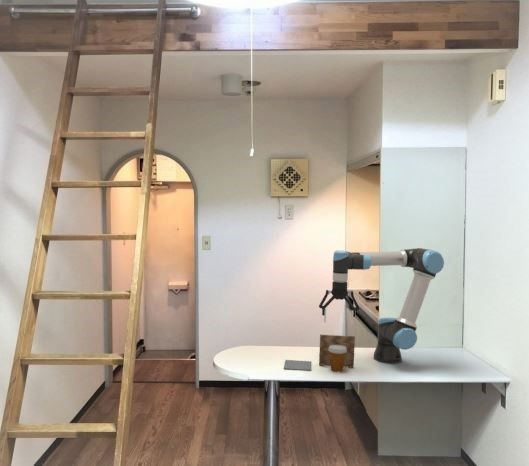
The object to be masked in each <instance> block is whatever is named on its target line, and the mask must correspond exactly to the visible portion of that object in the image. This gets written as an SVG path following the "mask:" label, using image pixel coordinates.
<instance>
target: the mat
mask: <svg viewBox="0 0 529 466" xmlns="http://www.w3.org/2000/svg"><path fill="white" fill-rule="evenodd" d="M283 370H290V371H303V372H312V361H311V360H310V361H309V360H296V359H295V360H293V359H285V360H284V365H283Z"/></svg>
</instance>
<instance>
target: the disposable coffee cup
mask: <svg viewBox="0 0 529 466" xmlns="http://www.w3.org/2000/svg"><path fill="white" fill-rule="evenodd" d="M328 350H329V355H330V366H329V367H330V371H331V372H334V373H341V372H343V371H344V362H345V356H346V352H347V349H346V347H345V346H342V345H330V346H329V348H328Z"/></svg>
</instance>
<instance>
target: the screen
mask: <svg viewBox="0 0 529 466" xmlns="http://www.w3.org/2000/svg"><path fill="white" fill-rule="evenodd" d="M355 342H356V336H354V335H353V336H352V335H338V334H334V335H322V334H320V335H319V353H318V354H319V355H318V356H319V358H318V365H319V367H323V366H324V367H325V366H327V367H328V366H329V367H331V366H330V355H329V350H328V348H329V346H330V345H342V346H345V347H346V349H347V352H346V356H345V362H344V367H345V368H348V369H354V367H355V366H354V365H355Z"/></svg>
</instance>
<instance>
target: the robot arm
mask: <svg viewBox="0 0 529 466" xmlns="http://www.w3.org/2000/svg"><path fill="white" fill-rule="evenodd" d="M332 260H333V261H332V281H331V282H332V283H331V284H332V286H331V288H332V289H331V290H329V289H326V290H325V294H324V296H323V298H322V300H321V302H320V303H319V305H318V307H319V308H320V309H321V310H322V312H321V315H322V316H324V317H323V319H324V321H323V323H327V322H326V321H327V307H328V306H329V305H330V304H331V303H332V302H333V301H334V300H340V301H341V300H342V301H343V300H344V301H345V302H346V303H347V304H348V306H349V307H350V308H351V315H350V323H351V324H350V325H354V318H356V312H357V311H359V310H360V306H359V304H358V302H357V301H356V298H355V296H354V291H353V290H350V291H348V278H349V277H348V276H349V270H363V271H365V270H369V269H371V267H376V266H378V267H379V266H383V267H384V266H387V267H388V266H400V267H401V268H411V269H412V272H413V277H412V280H411V284H410V285H409V289H408V292H407V294H406V297H405V300H404V302H403V305H402V308H401V311H400V313H399V316H398V317H380V318H379V319H378V320H377V321H378V323H377V344H376V347H375V350H374V353H373V360H375V361H377V362H380V363H384V364H399V363H402V360H403V359H402V358H403V357H402V352H401V350H405V351H406V350H411V349H412V348H413V347H414V346H415V345H416V343H417V340H418V335H417V332H416V331H417V328H418V327H417V324H416V322H417V319H418V316H419V314H420V310H421V308H422V305H423V302H424V299H425V298H426V294H427V292H428V291H427V290H428V289H429V285H430V283H431V280H434V279H435V278H436V275H437V274H438V273H440V272H441V271H442V270H443V268H444V266H445V260H444V257H443V255H442V254H441V253H440V252H438V250H437V251H436V250H433V249H427V248H421V247H420V248H419V247H418V248H416V247H415V248H409V249H406V248H405V249H400V250H399V251H364V252H363V251H360V252H359V251H358V252H356V251H355V252H353V251H352V252H351V251H347V250H334V252H333V257H332ZM330 294H331V295H332V296H331V297H330V298H329V300H327V297H328V296H329V295H330ZM348 295H349V296H350V297H351V299H352V301H353V303H351V301H350V300H349V298H348V297H347V296H348ZM326 300H327V301H326ZM325 301H326V302H325ZM353 304H354V305H353Z"/></svg>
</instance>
